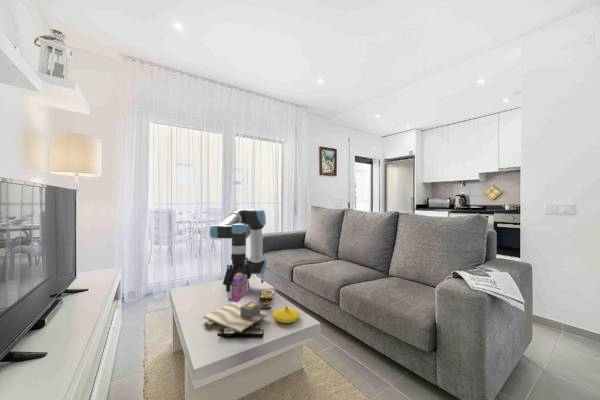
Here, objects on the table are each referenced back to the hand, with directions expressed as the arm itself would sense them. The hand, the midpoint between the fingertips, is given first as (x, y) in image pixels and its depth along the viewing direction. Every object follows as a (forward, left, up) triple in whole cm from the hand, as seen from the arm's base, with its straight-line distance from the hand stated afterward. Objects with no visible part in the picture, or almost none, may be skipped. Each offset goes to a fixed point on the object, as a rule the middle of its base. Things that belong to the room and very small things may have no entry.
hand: (237, 293), depth 130 cm
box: (0, 0, -2) cm, 2 cm away
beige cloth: (-5, -7, -19) cm, 21 cm away
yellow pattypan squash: (-24, +16, -19) cm, 34 cm away
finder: (-11, -1, -15) cm, 19 cm away
